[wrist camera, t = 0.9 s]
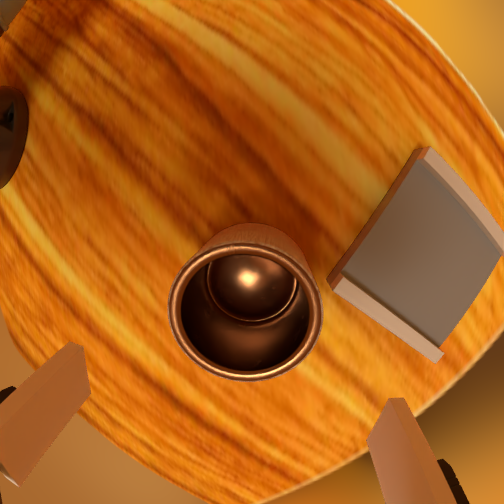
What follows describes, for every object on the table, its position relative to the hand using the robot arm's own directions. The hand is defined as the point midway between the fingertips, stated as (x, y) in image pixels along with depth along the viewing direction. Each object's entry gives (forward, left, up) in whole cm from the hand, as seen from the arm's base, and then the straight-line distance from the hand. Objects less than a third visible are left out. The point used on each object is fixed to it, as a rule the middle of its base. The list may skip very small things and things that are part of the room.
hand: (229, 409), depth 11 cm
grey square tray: (+14, +12, -18) cm, 26 cm away
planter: (0, 0, -19) cm, 19 cm away
